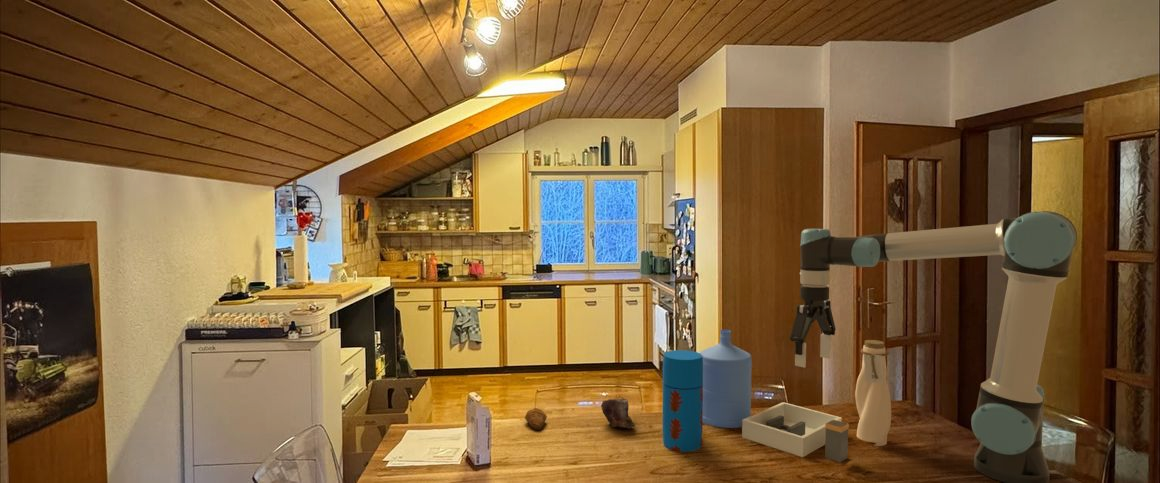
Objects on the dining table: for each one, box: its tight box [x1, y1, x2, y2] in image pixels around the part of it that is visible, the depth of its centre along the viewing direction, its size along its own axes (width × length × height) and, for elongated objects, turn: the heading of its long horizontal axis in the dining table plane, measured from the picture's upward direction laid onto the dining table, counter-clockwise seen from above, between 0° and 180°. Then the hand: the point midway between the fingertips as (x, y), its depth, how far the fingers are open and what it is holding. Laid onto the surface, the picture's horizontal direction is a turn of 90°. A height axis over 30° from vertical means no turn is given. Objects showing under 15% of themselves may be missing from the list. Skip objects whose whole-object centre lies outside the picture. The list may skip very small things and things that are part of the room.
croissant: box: [524, 407, 548, 431], centre depth 184 cm, size 14×7×5 cm, turn 9°
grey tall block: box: [824, 420, 850, 464], centre depth 156 cm, size 4×4×10 cm
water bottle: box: [854, 339, 892, 447], centre depth 168 cm, size 10×9×28 cm
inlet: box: [766, 415, 805, 436], centre depth 172 cm, size 8×8×4 cm
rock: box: [600, 397, 636, 430], centre depth 182 cm, size 12×9×10 cm
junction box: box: [741, 401, 843, 458], centre depth 171 cm, size 18×22×6 cm
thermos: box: [662, 349, 703, 453], centre depth 167 cm, size 11×11×25 cm
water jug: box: [699, 329, 753, 429], centre depth 184 cm, size 16×16×28 cm
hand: (813, 361), depth 167 cm, fingers open, 13 cm apart
